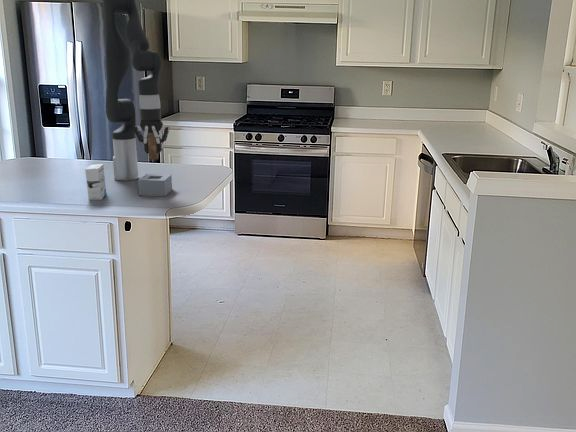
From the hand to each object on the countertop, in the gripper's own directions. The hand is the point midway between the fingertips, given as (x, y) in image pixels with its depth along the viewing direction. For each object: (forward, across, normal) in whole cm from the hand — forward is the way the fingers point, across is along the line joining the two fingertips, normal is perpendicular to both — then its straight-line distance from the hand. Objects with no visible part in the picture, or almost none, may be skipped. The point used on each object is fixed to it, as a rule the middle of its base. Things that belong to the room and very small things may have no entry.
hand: (153, 152), depth 213 cm
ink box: (+16, -20, -8) cm, 27 cm away
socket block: (+15, 0, 0) cm, 15 cm away
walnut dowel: (+2, 0, 0) cm, 2 cm away
